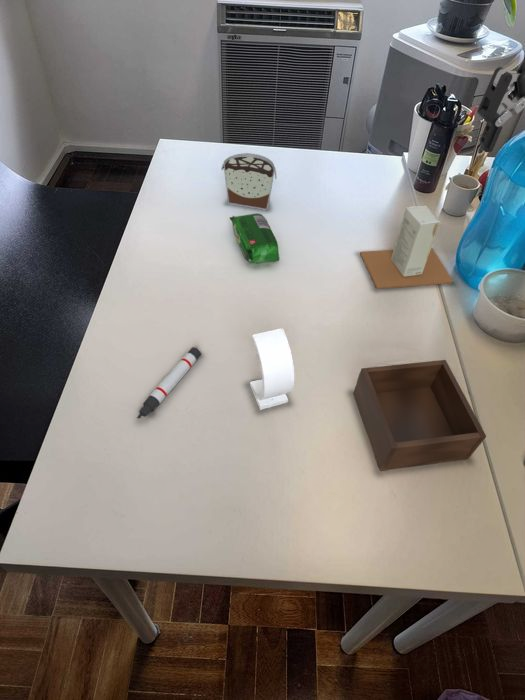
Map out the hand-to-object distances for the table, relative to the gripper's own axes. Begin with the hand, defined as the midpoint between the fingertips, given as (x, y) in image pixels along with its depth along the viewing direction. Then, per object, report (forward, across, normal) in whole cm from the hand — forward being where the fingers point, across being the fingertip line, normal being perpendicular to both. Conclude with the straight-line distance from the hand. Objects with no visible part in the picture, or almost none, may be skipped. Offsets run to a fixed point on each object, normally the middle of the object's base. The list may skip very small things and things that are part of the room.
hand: (512, 148), depth 68 cm
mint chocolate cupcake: (+30, -32, +38) cm, 58 cm away
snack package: (+30, -34, +20) cm, 50 cm away
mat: (+30, -4, +10) cm, 32 cm away
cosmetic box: (+30, -4, +10) cm, 32 cm away
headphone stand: (+30, -37, -18) cm, 51 cm away
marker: (+30, -53, -14) cm, 62 cm away
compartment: (+30, -17, -26) cm, 43 cm away
